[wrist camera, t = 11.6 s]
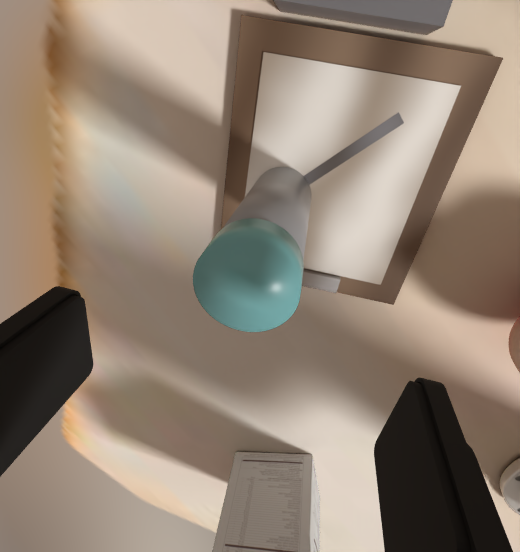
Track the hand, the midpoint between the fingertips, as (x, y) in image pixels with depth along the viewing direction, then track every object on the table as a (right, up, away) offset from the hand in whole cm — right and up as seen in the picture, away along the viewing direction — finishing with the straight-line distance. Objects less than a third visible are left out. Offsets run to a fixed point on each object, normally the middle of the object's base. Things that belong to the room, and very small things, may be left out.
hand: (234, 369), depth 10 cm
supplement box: (+3, -21, +31) cm, 38 cm away
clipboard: (+5, +9, +13) cm, 17 cm away
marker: (+2, +8, +13) cm, 16 cm away
